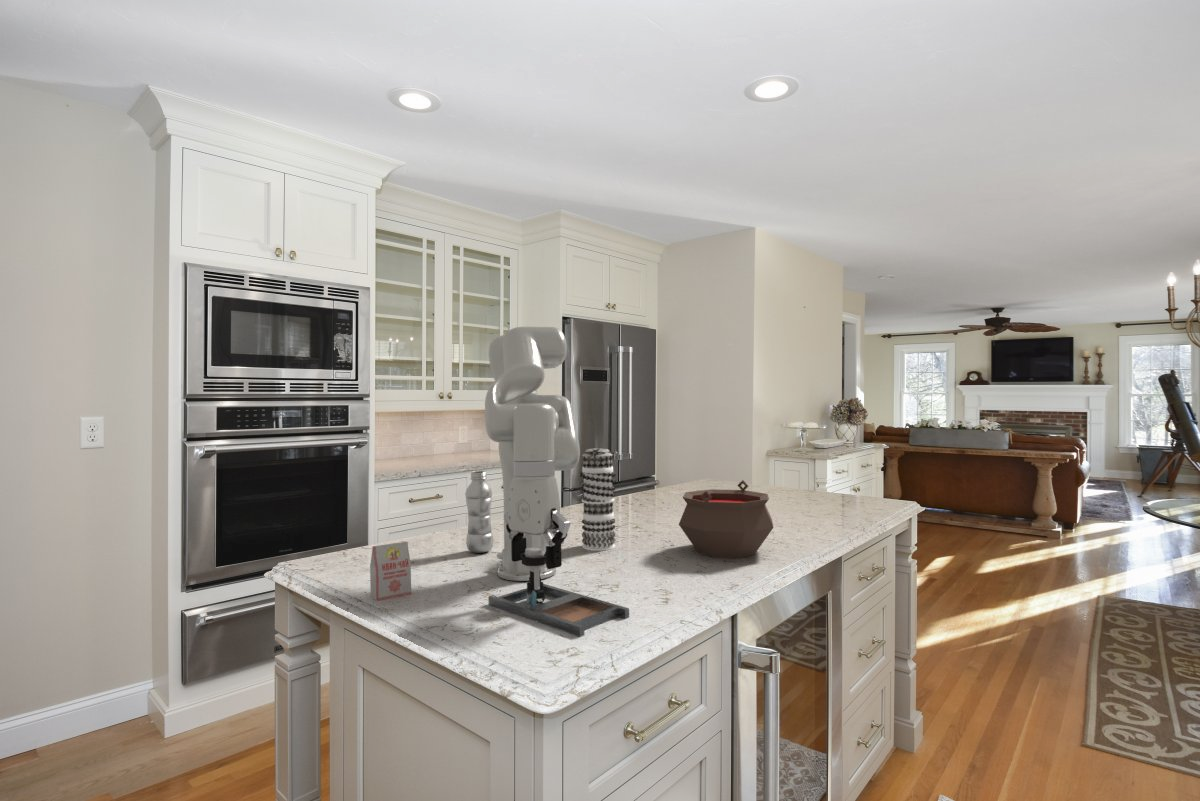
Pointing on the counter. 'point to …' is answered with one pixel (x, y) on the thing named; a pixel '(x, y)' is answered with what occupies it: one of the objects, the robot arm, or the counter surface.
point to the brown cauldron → (726, 521)
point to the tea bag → (390, 571)
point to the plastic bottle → (479, 514)
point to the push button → (534, 574)
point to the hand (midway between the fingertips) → (536, 563)
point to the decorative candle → (598, 500)
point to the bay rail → (562, 609)
